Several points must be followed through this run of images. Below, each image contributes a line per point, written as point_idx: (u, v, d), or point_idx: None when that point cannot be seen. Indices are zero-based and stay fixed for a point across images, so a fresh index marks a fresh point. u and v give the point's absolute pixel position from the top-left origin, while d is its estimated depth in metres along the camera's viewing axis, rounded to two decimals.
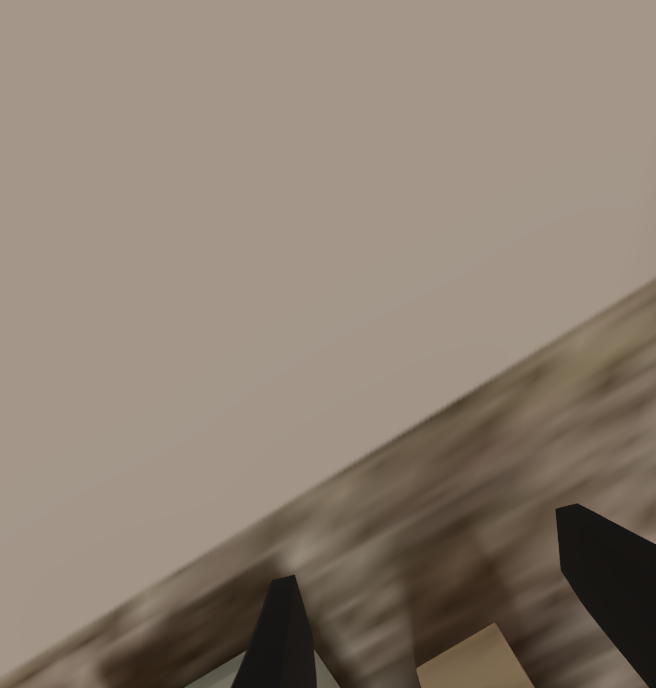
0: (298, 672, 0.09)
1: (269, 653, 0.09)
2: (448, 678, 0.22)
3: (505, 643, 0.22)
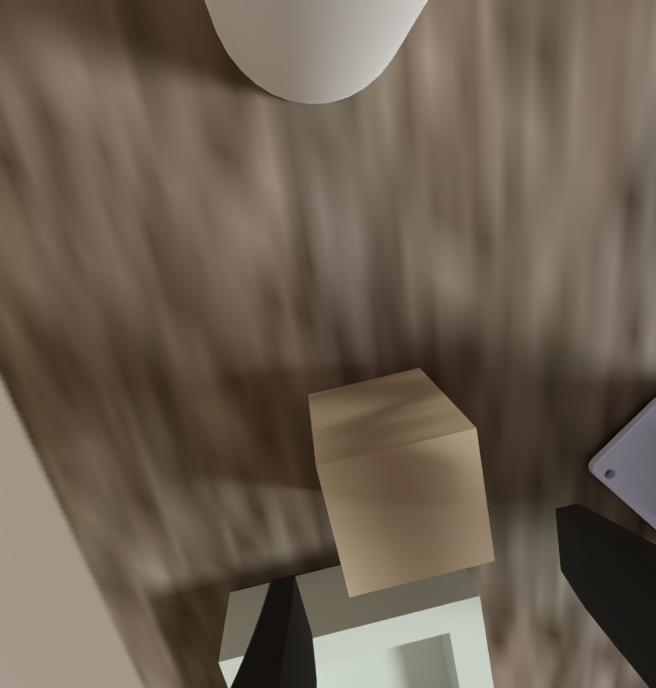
0: (298, 672, 0.09)
1: (269, 653, 0.09)
2: None
3: None
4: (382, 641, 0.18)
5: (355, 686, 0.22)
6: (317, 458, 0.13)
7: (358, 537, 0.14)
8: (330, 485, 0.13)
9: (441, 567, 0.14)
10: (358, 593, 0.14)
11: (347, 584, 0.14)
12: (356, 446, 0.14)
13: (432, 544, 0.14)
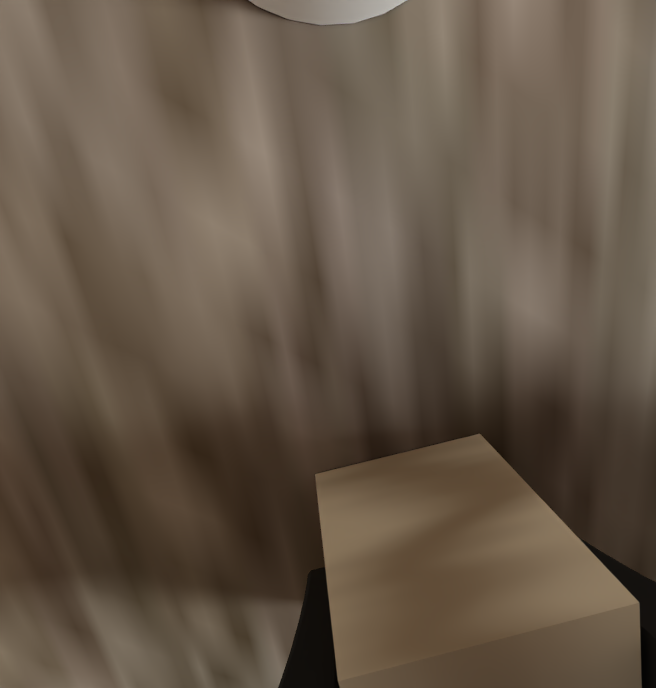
0: None
1: (319, 640, 0.09)
2: None
3: None
4: None
5: None
6: (338, 651, 0.07)
7: None
8: None
9: None
10: None
11: None
12: (410, 627, 0.07)
13: None
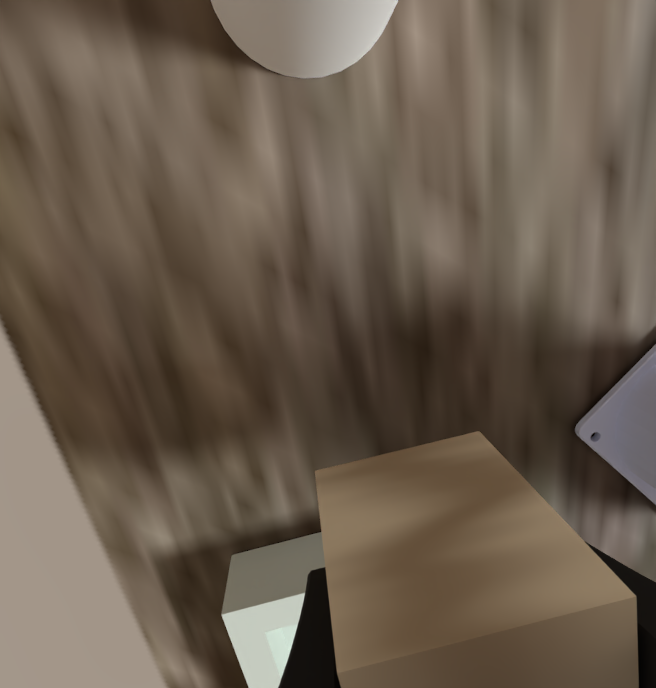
0: None
1: (319, 640, 0.09)
2: None
3: (318, 503, 0.11)
4: None
5: None
6: (338, 644, 0.07)
7: None
8: None
9: None
10: None
11: None
12: (409, 620, 0.07)
13: None
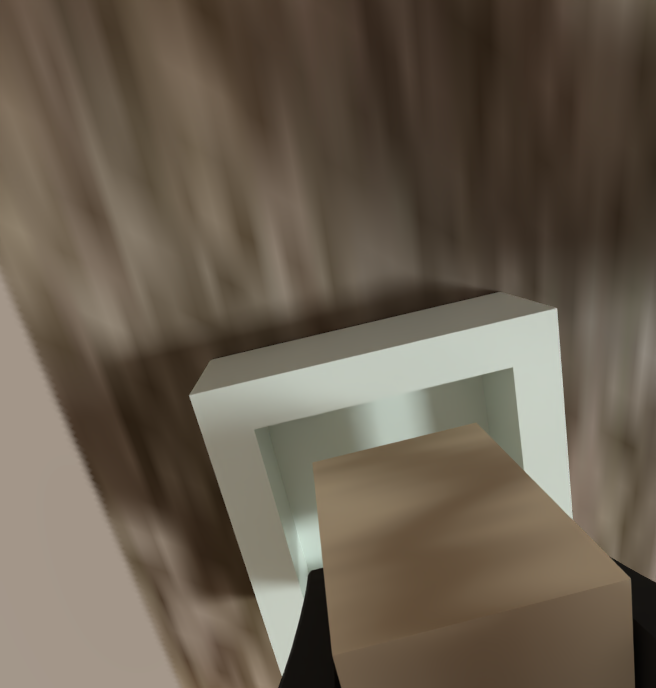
0: None
1: (319, 640, 0.09)
2: None
3: None
4: (420, 375, 0.13)
5: None
6: (333, 628, 0.07)
7: None
8: (359, 684, 0.07)
9: None
10: None
11: None
12: (404, 604, 0.07)
13: None
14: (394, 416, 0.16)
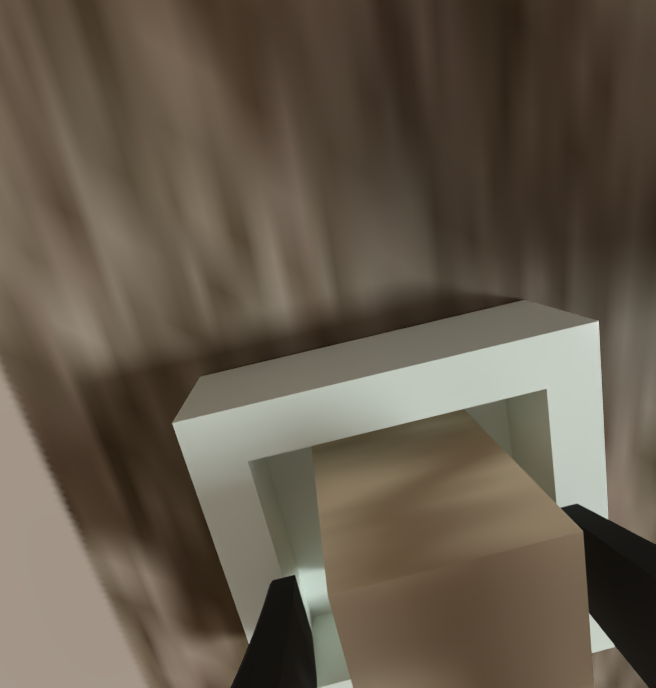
0: (298, 672, 0.09)
1: (269, 653, 0.09)
2: None
3: (314, 469, 0.12)
4: (439, 399, 0.11)
5: None
6: (329, 576, 0.09)
7: None
8: (350, 621, 0.08)
9: None
10: None
11: None
12: (390, 555, 0.09)
13: None
14: None
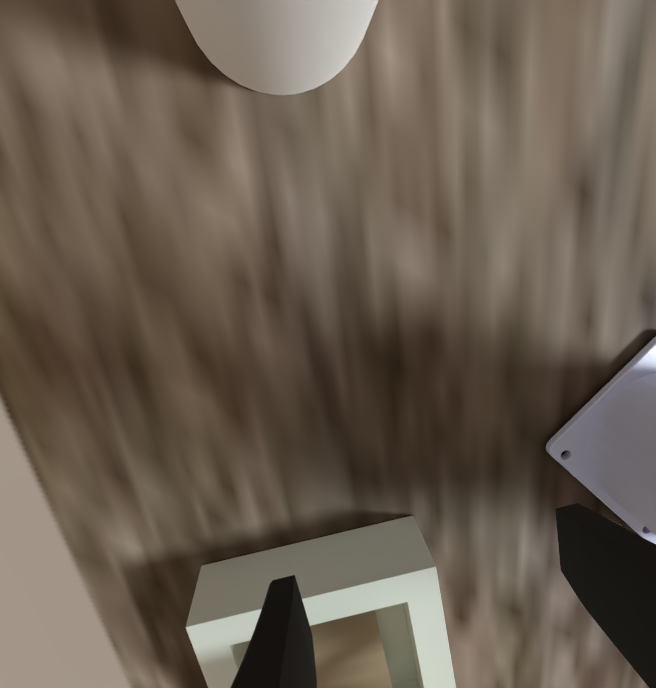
0: (298, 672, 0.09)
1: (269, 653, 0.09)
2: None
3: None
4: (343, 609, 0.19)
5: None
6: None
7: None
8: None
9: None
10: None
11: None
12: None
13: None
14: None
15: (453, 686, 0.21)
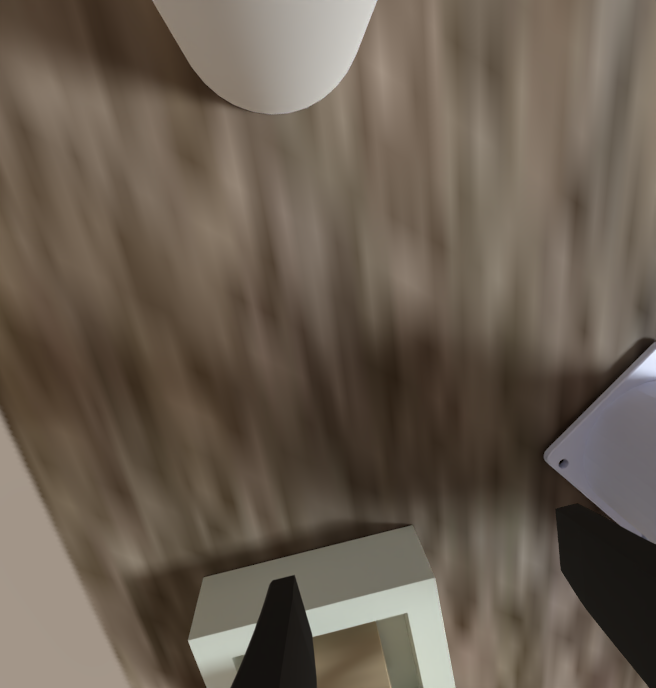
0: (298, 672, 0.09)
1: (269, 653, 0.09)
2: None
3: None
4: (343, 621, 0.19)
5: None
6: None
7: None
8: None
9: None
10: None
11: None
12: None
13: None
14: None
15: None
